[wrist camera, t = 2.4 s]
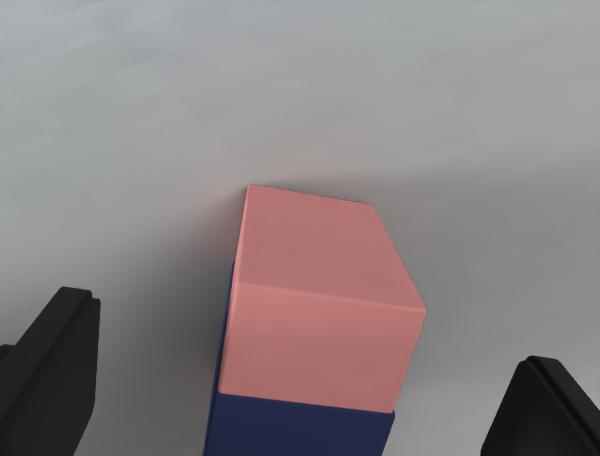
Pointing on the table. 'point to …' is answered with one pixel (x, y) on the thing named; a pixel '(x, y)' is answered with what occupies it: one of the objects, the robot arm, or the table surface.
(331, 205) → the eraser
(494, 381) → the table surface
